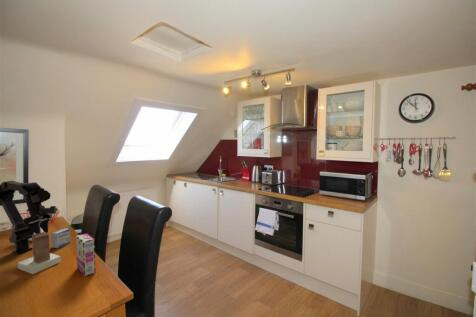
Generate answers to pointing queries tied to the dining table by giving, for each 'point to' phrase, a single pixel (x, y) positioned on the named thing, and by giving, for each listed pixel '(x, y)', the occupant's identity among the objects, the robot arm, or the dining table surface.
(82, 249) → the candy bar box
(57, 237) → the medicine box
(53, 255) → the sage base
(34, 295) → the dining table surface
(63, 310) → the dining table surface
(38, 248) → the walnut block
